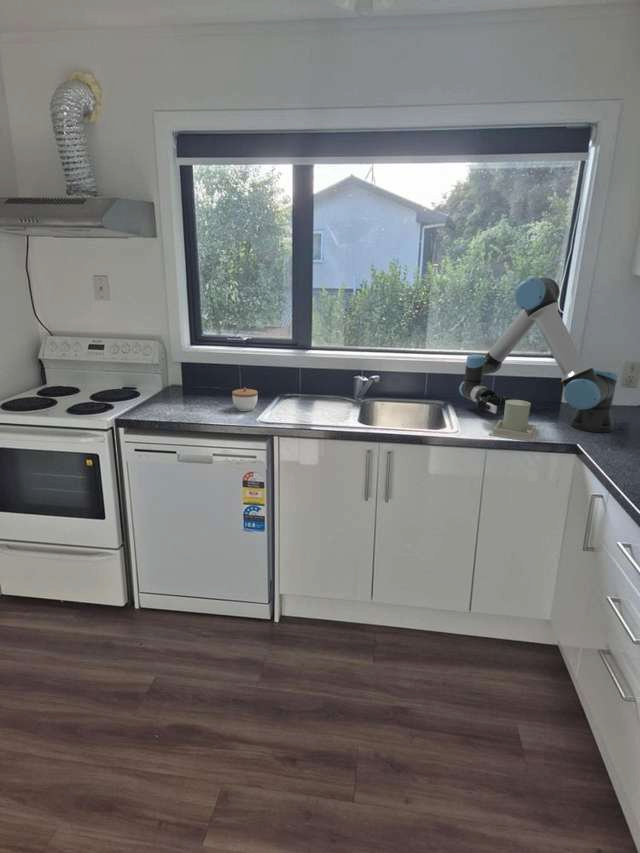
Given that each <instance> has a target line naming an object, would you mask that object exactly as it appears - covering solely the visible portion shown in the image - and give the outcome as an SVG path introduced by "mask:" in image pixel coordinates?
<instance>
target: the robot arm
mask: <svg viewBox="0 0 640 853" xmlns="http://www.w3.org/2000/svg"><path fill="white" fill-rule="evenodd" d="M560 293H561V291H560V286H559V284H558V283H557V282H556V281H555V280H553V279H552V278H549V277H529V278H526V279H523V280H522V281H521V282H520V283H519V284H518V285H517V287H516V289H515V292H514V301H515V304H516V305H517V307H518V308H520V309H521V311H520V312H519V313H518V315H517V316H516V317H515V318H514V320H513V321H512V322H511V323H510V325H509V326H508V327H507V328H506V330H504V332H503V334H501V336H500V337H499V338H498V339H497V340H496V342H495V343H494V344H493V346H492V347H491V348H490V349H489V351H487V353H486V354H485V356H484V355H482V354H474V353H473V354H469V355H467V357H466V362H465V371H464V380H463V381H462V382H461V383H460V385H459V390H458V391H459V393H460V395H461V396H462V397H464V398H466V399H467V400H469V401H472V402H474V404H476V409H481V411H486V410H487V411H489V412H491V413H493V414H497V411H498V410H497V409H498V406H501V407H502V406H505V401H506V400H522V401H525V400H523V399H521V398H520V399H518V398H514V397H510V396H506V395H501V396H500V395H497V394H496V393H495V391H494V390H493V389H490V388H488V387H486V386H483V379H484V376H485V375H489V374H494V373H496V372H498V371H500V369H501V368H502V364H503V362H504V361H505V359H506V358H508V356H509V355H510V354H511V353H512V351H513V350H514V349H515V348H516V347H517V345H519V343H520V342H521V341H522V340H523V338H524V337H525V336H526V335H527V333H529V331H530V330H531V329H532V328H533V327H534V325H535V324H536V326H537V327H538V329H539V331H540V333H541V335H542V337H543V339H544V341H545V344H546V345H547V347H548V349H549V351H550V352H551V354H552V357H553V358H554V361H555V362H556V365H557V367H558V368H559V370H560V372H561V374H562V378H561V383H562V385H563V388H564V392H563V396H564V399H565V401H566V403H567V404H568V405H569V406H570V407H572V408H573V409H576V411H575V413H574V414H573V415H572V418H571V420H570V426H571V427H573V428H575V429H578V430H580V431H585V432H590V433H591V432H592V433H603V434H604V433H605V434H606V433H610V432H612V431H613V429H614V421H613V420H614V419H613V416H612V415H613V414H612V408H613V407H612V406H613V401H614V396H615V392H616V387H617V382H618V379H617V378H618V375H617V373H616V372H612V371H606V370H600V369H594V368H593V366H589V365H587V364H586V362H585V360H584V359H583V357H582V355H581V353H580V351H579V349H578V348H577V345H576V343H575V342H574V340H573V338H572V336H571V334H570V332H569V330H568V328H567V326H566V324H565V322H564V321H563V319H562V317H561V315H560V313H559V311H558V306H559V301H558V299H559V297H560Z"/></svg>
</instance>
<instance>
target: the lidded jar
mask: <svg viewBox="0 0 640 853" xmlns="http://www.w3.org/2000/svg"><path fill="white" fill-rule="evenodd" d="M231 393H232V394H231V395H232V402H233V405H234V406H235V408H236V409H237V410H238V411H239V412H240V411H241V412H251V411H253V409H254V408H255V407H256V405H257V403H258V394H259V392H258V390H256V389H251V388H247V387H243V388H240V389H235V390H232V392H231Z"/></svg>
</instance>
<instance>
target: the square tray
mask: <svg viewBox="0 0 640 853" xmlns="http://www.w3.org/2000/svg"><path fill="white" fill-rule="evenodd" d="M502 426H503V419H499V420H498V421H497V423H495V425H494V426H493V427H492V429H491V430H490V432H489V433H488V436H490V437H491V436H492V437H497V438H504V439H510V438H511V439H510V440H516V439H517V440H518V441H522V440H524V442H530V443H535V440H536V438H537V436H538V433H539V432H540V431H539V429H536V427H537V425H536V424H530V423H528V426H527V433H523V432H517V431H510V430H504V429H502ZM517 440H516V441H517Z"/></svg>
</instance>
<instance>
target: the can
mask: <svg viewBox="0 0 640 853" xmlns="http://www.w3.org/2000/svg"><path fill="white" fill-rule="evenodd" d="M522 400H523V399H521V400H506V401H505V405H504V412H503V413H504V414H503V419H502V420H503V426H502V429H504V430H510V431H517V432H523V433H527V426H528V424H529V416H530V412H531V405H532V404H531V402H529V401H527V400H524V401H522Z"/></svg>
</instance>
